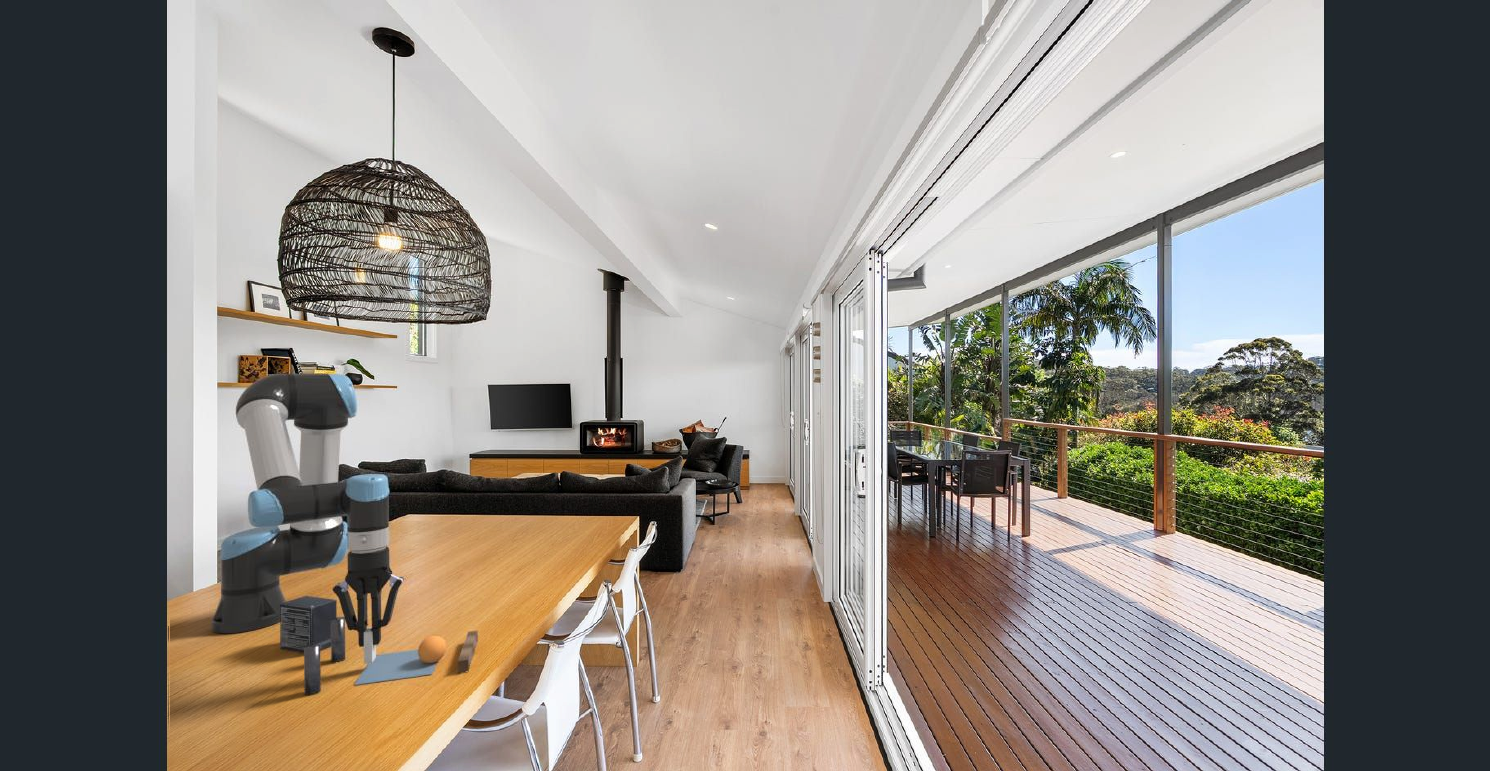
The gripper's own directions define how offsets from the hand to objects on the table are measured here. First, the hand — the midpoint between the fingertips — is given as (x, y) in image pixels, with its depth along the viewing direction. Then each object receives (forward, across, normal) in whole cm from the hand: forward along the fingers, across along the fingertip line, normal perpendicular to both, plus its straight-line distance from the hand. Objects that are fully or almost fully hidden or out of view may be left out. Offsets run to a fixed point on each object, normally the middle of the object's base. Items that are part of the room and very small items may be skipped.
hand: (370, 660), depth 128 cm
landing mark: (+2, +6, 0) cm, 6 cm away
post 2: (+2, -8, +7) cm, 11 cm away
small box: (+2, -17, +18) cm, 25 cm away
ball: (-1, +12, -1) cm, 12 cm away
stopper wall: (+2, +19, 0) cm, 19 cm away
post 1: (+2, -8, -7) cm, 11 cm away
